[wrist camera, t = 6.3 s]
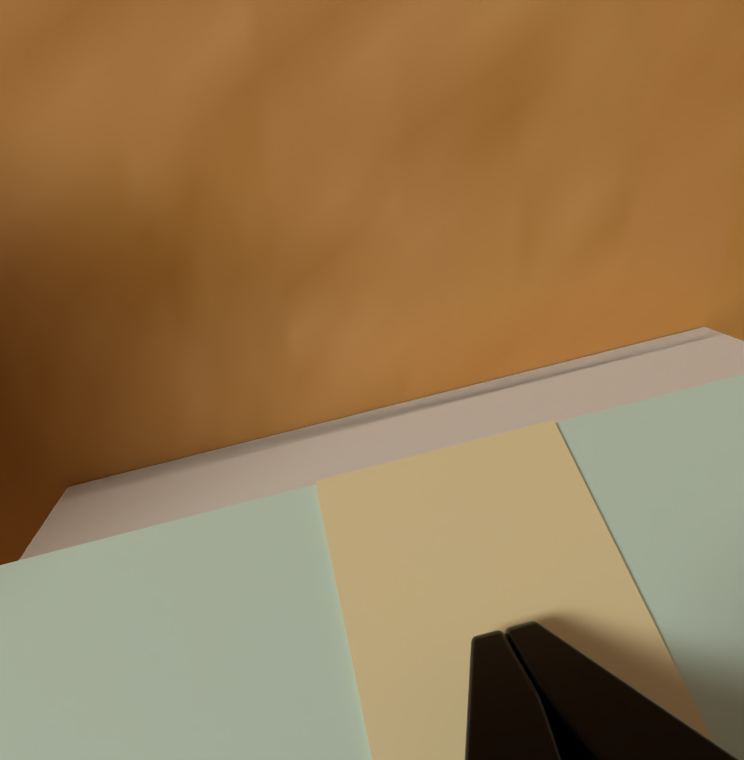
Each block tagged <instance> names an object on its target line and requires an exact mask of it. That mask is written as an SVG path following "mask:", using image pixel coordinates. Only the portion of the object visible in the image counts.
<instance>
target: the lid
mask: <svg viewBox="0 0 744 760" xmlns="http://www.w3.org/2000/svg"><path fill="white" fill-rule="evenodd" d="M529 621H535V622H538V623H540V624H541V625H543V626H544V627H546V628H547V629H548V630H550V631H551V632H553V633H554V634H556V635H557V636H559V637H560V638H562V639H563V640H565V641H566V642H567V643H569V644H570V645H572V646H573V647H575V648H576V649H578V650H579V651H581V652H582V653H584V654H585V655H587V656H588V657H589V658H591V659H592V660H594V661H595V662H597V663H598V664H600V665H601V666H603V667H604V668H606V669H607V670H608V671H610V672H611V673H613V674H614V675H616V676H617V677H619V678H620V679H622V680H623V681H625V682H626V683H627V684H629V685H630V686H632V687H633V688H635V689H636V690H638V691H639V692H641V693H642V694H644V695H645V696H646V697H648V698H649V699H651V700H652V701H654V702H655V703H657V704H658V705H660V706H661V707H663V708H664V709H665V710H667V711H668V712H670V713H671V714H673V715H674V716H676V717H677V718H679V719H680V720H682V721H683V722H685V723H686V724H687V725H689V726H690V727H692V728H693V729H695V730H696V731H698V732H699V733H701V734H702V735H704V736H705V737H706V738H708V739H709V740H711V741H712V742H714V743H715V744H717V745H718V746H720V747H721V748H723V749H724V750H725V751H727V752H728V753H730V754H731V755H733V756H734V757H736V758H737V759H739V760H744V375H740V376H736V377H732V378H728V379H725V380H721V381H717V382H713V383H709V384H705V385H701V386H697V387H693V388H689V389H685V390H682V391H678V392H674V393H670V394H666V395H662V396H658V397H654V398H650V399H646V400H643V401H639V402H635V403H631V404H627V405H623V406H619V407H615V408H611V409H607V410H604V411H600V412H596V413H592V414H588V415H584V416H580V417H576V418H572V419H568V420H565V421H561V422H557V423H555V421H554V420H551V421H547V422H543V423H540V424H536V425H532V426H528V427H524V428H520V429H516V430H512V431H508V432H504V433H501V434H497V435H493V436H489V437H485V438H481V439H477V440H473V441H469V442H465V443H461V444H458V445H454V446H450V447H446V448H442V449H438V450H434V451H430V452H426V453H422V454H419V455H415V456H411V457H407V458H403V459H399V460H395V461H391V462H387V463H383V464H379V465H376V466H372V467H368V468H364V469H360V470H356V471H352V472H348V473H344V474H340V475H336V476H333V477H329V478H325V479H321V480H317V481H315V485H311V486H307V487H303V488H299V489H295V490H291V491H288V492H284V493H280V494H276V495H272V496H268V497H264V498H260V499H256V500H252V501H249V502H245V503H241V504H237V505H233V506H229V507H225V508H221V509H217V510H213V511H210V512H206V513H202V514H198V515H194V516H190V517H186V518H182V519H178V520H174V521H171V522H167V523H163V524H159V525H155V526H151V527H147V528H143V529H139V530H135V531H132V532H128V533H124V534H120V535H116V536H112V537H108V538H104V539H100V540H96V541H93V542H89V543H85V544H81V545H77V546H73V547H69V548H65V549H61V550H57V551H54V552H50V553H46V554H42V555H38V556H34V557H30V558H26V559H22V560H18V561H15V562H11V563H7V564H3V565H0V760H465V745H466V726H467V708H468V689H469V670H470V651H471V640H472V638H473V637H474V636H477V635H480V634H484V633H488V632H492V631H495V630H500V631H502V632H503V633H505V630H506V629H507V628H508V627H510V626H514V625H518V624H522V623H526V622H529Z"/></svg>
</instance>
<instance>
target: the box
mask: <svg viewBox="0 0 744 760" xmlns="http://www.w3.org/2000/svg"><path fill="white" fill-rule="evenodd" d="M740 375H744V341H742V340H739V339H736V338H734V337H731V336H728V335H725V334H723V333H720V332H717V331H715V330H712V329H709V328H706V327H702V328H698V329H694V330H690V331H686V332H682V333H678V334H674V335H670V336H666V337H663V338H659V339H655V340H651V341H647V342H643V343H639V344H635V345H631V346H627V347H623V348H619V349H615V350H611V351H607V352H603V353H599V354H595V355H591V356H587V357H583V358H579V359H575V360H571V361H567V362H563V363H559V364H555V365H551V366H547V367H543V368H539V369H535V370H531V371H527V372H523V373H519V374H515V375H511V376H507V377H503V378H499V379H495V380H491V381H487V382H483V383H479V384H476V385H472V386H468V387H464V388H460V389H456V390H452V391H448V392H444V393H440V394H436V395H432V396H428V397H424V398H420V399H416V400H412V401H408V402H404V403H400V404H396V405H392V406H388V407H384V408H380V409H376V410H372V411H368V412H364V413H360V414H356V415H352V416H348V417H344V418H340V419H336V420H332V421H328V422H324V423H320V424H316V425H312V426H308V427H304V428H300V429H296V430H293V431H289V432H285V433H281V434H277V435H273V436H269V437H265V438H261V439H257V440H253V441H249V442H245V443H241V444H237V445H233V446H229V447H225V448H221V449H217V450H213V451H209V452H205V453H201V454H197V455H193V456H189V457H185V458H181V459H177V460H173V461H169V462H165V463H161V464H157V465H153V466H149V467H145V468H141V469H137V470H133V471H129V472H125V473H121V474H117V475H113V476H109V477H106V478H102V479H98V480H94V481H90V482H86V483H82V484H78V485H74V486H70V487H67V489H66V490H65V492H64V493H63V495H62V496H61V498H60V499H59V501H58V502H57V504H56V505H55V507H54V508H53V510H52V511H51V513H50V514H49V516H48V517H47V519H46V520H45V522H44V523H43V525H42V526H41V528H40V529H39V531H38V532H37V534H36V535H35V537H34V538H33V540H32V541H31V543H30V544H29V546H28V547H27V549H26V550H25V552H24V553H23V555H22V556H21V558H20V559H19V560H22V559H26V558H30V557H34V556H38V555H42V554H46V553H50V552H54V551H57V550H61V549H65V548H69V547H73V546H77V545H81V544H85V543H89V542H93V541H96V540H100V539H104V538H108V537H112V536H116V535H120V534H124V533H128V532H132V531H135V530H139V529H143V528H147V527H151V526H155V525H159V524H163V523H167V522H171V521H174V520H178V519H182V518H186V517H190V516H194V515H198V514H202V513H206V512H210V511H213V510H217V509H221V508H225V507H229V506H233V505H237V504H241V503H245V502H249V501H252V500H256V499H260V498H264V497H268V496H272V495H276V494H280V493H284V492H288V491H291V490H295V489H299V488H303V487H307V486H311V485H315V481H317V480H321V479H325V478H329V477H333V476H336V475H340V474H344V473H348V472H352V471H356V470H360V469H364V468H368V467H372V466H376V465H379V464H383V463H387V462H391V461H395V460H399V459H403V458H407V457H411V456H415V455H419V454H422V453H426V452H430V451H434V450H438V449H442V448H446V447H450V446H454V445H458V444H461V443H465V442H469V441H473V440H477V439H481V438H485V437H489V436H493V435H497V434H501V433H504V432H508V431H512V430H516V429H520V428H524V427H528V426H532V425H536V424H540V423H543V422H547V421H551V420H554V421H555V423H557V422H561V421H565V420H568V419H572V418H576V417H580V416H584V415H588V414H592V413H596V412H600V411H604V410H607V409H611V408H615V407H619V406H623V405H627V404H631V403H635V402H639V401H643V400H646V399H650V398H654V397H658V396H662V395H666V394H670V393H674V392H678V391H682V390H685V389H689V388H693V387H697V386H701V385H705V384H709V383H713V382H717V381H721V380H725V379H728V378H732V377H736V376H740Z"/></svg>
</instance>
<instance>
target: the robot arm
mask: <svg viewBox="0 0 744 760" xmlns="http://www.w3.org/2000/svg"><path fill="white" fill-rule="evenodd" d="M465 760H739V759H737V758H736V757H734V756H733V755H731V754H730V753H728V752H727V751H725V750H724V749H723V748H721V747H720V746H718V745H717V744H715V743H714V742H712V741H711V740H709V739H708V738H706V737H705V736H704V735H702V734H701V733H699V732H698V731H696V730H695V729H693V728H692V727H690V726H689V725H687V724H686V723H685V722H683V721H682V720H680V719H679V718H677V717H676V716H674V715H673V714H671V713H670V712H668V711H667V710H665V709H664V708H663V707H661V706H660V705H658V704H657V703H655V702H654V701H652V700H651V699H649V698H648V697H646V696H645V695H644V694H642V693H641V692H639V691H638V690H636V689H635V688H633V687H632V686H630V685H629V684H627V683H626V682H625V681H623V680H622V679H620V678H619V677H617V676H616V675H614V674H613V673H611V672H610V671H608V670H607V669H606V668H604V667H603V666H601V665H600V664H598V663H597V662H595V661H594V660H592V659H591V658H589V657H588V656H587V655H585V654H584V653H582V652H581V651H579V650H578V649H576V648H575V647H573V646H572V645H570V644H569V643H567V642H566V641H565V640H563V639H562V638H560V637H559V636H557V635H556V634H554V633H553V632H551V631H550V630H548V629H547V628H546V627H544V626H543V625H541V624H540V623H538V622H535V621H529V622H526V623H522V624H518V625H514V626H510V627H508V628H507V629H506V630H505V633H503V632H502V631H500V630H495V631H492V632H488V633H484V634H480V635H477V636H474V637H473V638H472V640H471V651H470V670H469V689H468V708H467V726H466V745H465Z"/></svg>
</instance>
